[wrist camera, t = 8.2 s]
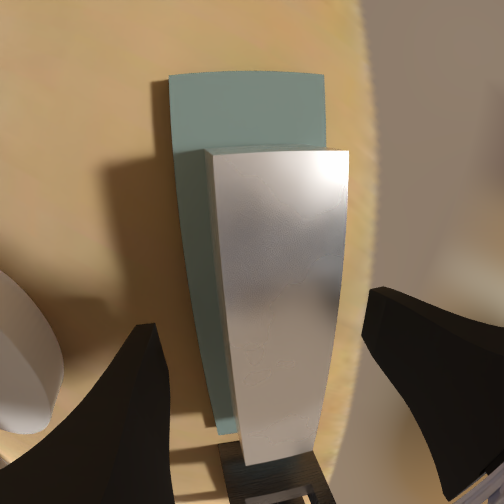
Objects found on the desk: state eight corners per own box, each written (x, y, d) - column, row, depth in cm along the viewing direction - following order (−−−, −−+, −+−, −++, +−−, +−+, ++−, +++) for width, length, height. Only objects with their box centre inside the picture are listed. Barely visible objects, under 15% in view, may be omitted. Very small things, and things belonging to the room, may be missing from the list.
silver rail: (292, 404, 14) (312, 450, 11) (233, 415, 13) (245, 465, 10) (301, 143, 9) (349, 150, 6) (204, 148, 8) (212, 155, 6)
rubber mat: (302, 410, 15) (305, 417, 14) (217, 426, 14) (218, 435, 14) (316, 77, 9) (324, 74, 8) (169, 79, 8) (169, 75, 7)
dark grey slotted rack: (292, 483, 20) (312, 536, 14) (233, 495, 19) (246, 551, 14) (302, 427, 16) (336, 504, 11) (218, 444, 15) (235, 529, 10)
